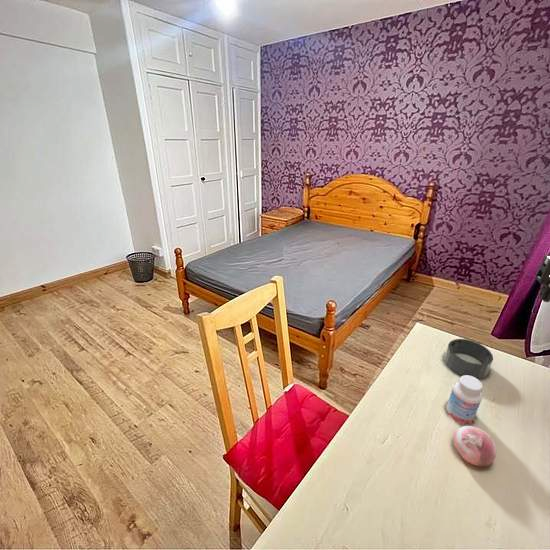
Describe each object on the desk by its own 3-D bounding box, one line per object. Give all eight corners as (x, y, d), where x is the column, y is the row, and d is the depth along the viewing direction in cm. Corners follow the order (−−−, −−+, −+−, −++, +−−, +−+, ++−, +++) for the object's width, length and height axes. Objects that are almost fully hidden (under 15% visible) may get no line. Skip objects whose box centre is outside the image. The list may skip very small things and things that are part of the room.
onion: (442, 449, 69) (450, 428, 66) (461, 431, 73) (469, 410, 69) (480, 480, 63) (490, 458, 60) (498, 459, 67) (509, 437, 63)
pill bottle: (448, 423, 75) (460, 390, 69) (442, 402, 80) (453, 370, 75) (476, 427, 73) (490, 394, 68) (468, 407, 79) (481, 374, 73)
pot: (450, 349, 98) (455, 334, 95) (491, 366, 91) (497, 350, 88) (438, 367, 91) (442, 352, 88) (480, 387, 84) (487, 371, 81)
